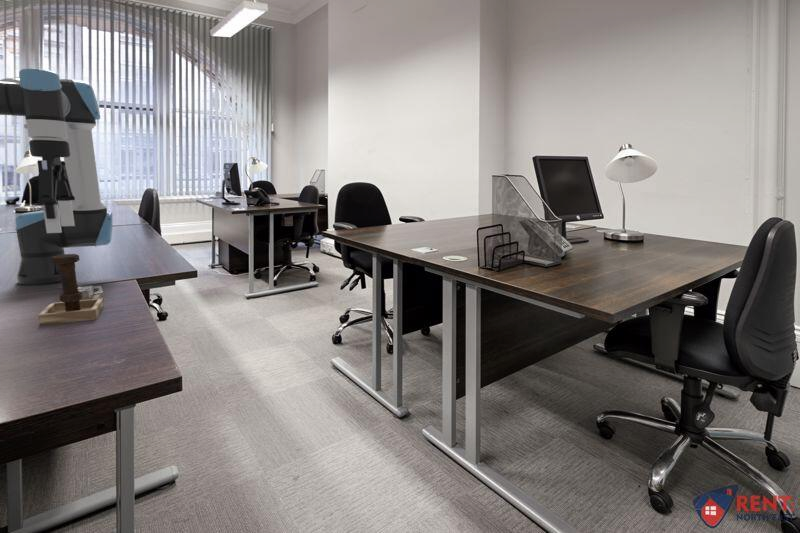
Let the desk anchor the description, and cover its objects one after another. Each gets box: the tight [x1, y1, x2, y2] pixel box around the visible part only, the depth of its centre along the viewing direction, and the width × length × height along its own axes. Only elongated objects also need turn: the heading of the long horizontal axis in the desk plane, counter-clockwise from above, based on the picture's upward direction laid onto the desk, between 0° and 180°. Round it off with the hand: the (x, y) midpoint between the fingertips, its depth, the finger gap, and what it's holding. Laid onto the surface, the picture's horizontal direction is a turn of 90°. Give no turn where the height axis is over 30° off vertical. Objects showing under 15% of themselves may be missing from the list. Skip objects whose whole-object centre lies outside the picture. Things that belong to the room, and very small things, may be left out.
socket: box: [37, 293, 105, 326], centre depth 121 cm, size 23×12×2 cm, turn 25°
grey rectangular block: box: [77, 284, 95, 300], centre depth 129 cm, size 6×4×4 cm, turn 25°
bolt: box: [52, 253, 83, 312], centre depth 115 cm, size 6×5×15 cm
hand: (61, 229), depth 112 cm, fingers open, 13 cm apart
